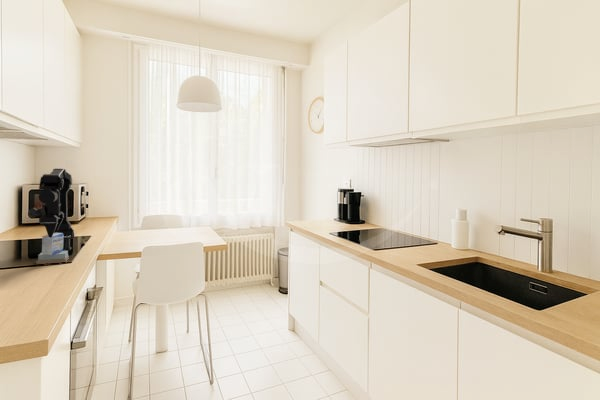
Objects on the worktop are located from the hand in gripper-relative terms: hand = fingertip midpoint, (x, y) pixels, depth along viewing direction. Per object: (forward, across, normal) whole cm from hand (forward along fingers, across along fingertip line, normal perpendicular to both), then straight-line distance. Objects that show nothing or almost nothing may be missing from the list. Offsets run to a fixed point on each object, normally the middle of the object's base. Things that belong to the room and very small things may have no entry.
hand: (52, 235), depth 150 cm
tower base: (+13, 0, 0) cm, 13 cm away
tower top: (+11, -1, 0) cm, 11 cm away
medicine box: (+8, -1, 0) cm, 8 cm away
